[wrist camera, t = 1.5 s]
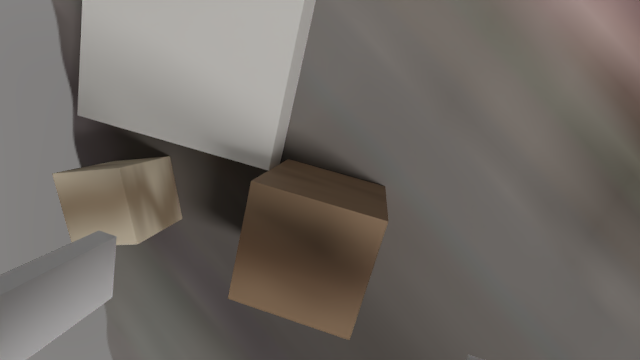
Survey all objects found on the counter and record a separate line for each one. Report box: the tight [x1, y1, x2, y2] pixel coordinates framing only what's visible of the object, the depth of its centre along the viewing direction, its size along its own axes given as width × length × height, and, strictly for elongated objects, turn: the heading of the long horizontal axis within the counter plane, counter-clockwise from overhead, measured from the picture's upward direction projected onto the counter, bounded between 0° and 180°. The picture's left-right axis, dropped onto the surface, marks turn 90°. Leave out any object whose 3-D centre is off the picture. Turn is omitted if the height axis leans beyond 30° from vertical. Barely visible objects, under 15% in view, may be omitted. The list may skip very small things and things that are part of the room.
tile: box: [77, 0, 316, 171], centre depth 20 cm, size 14×14×2 cm
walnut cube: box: [228, 159, 388, 340], centre depth 20 cm, size 7×7×7 cm
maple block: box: [52, 156, 182, 245], centre depth 23 cm, size 5×5×5 cm
